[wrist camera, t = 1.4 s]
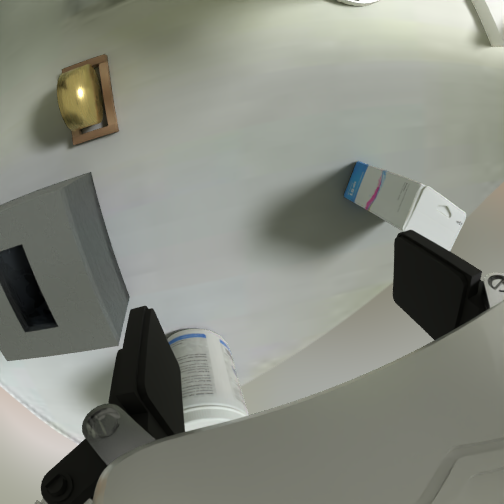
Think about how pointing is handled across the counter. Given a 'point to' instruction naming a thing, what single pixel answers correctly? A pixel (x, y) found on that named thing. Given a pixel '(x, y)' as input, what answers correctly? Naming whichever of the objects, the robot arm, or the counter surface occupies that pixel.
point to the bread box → (492, 19)
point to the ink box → (405, 204)
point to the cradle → (108, 101)
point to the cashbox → (58, 274)
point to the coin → (80, 97)
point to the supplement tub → (207, 379)
